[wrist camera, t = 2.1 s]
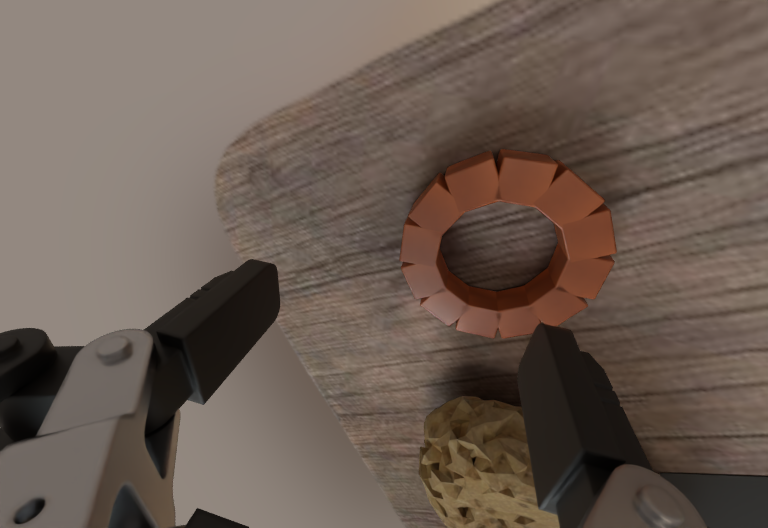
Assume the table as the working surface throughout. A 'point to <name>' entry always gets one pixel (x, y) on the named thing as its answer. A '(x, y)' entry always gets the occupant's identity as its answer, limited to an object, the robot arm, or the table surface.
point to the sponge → (480, 466)
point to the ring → (523, 187)
